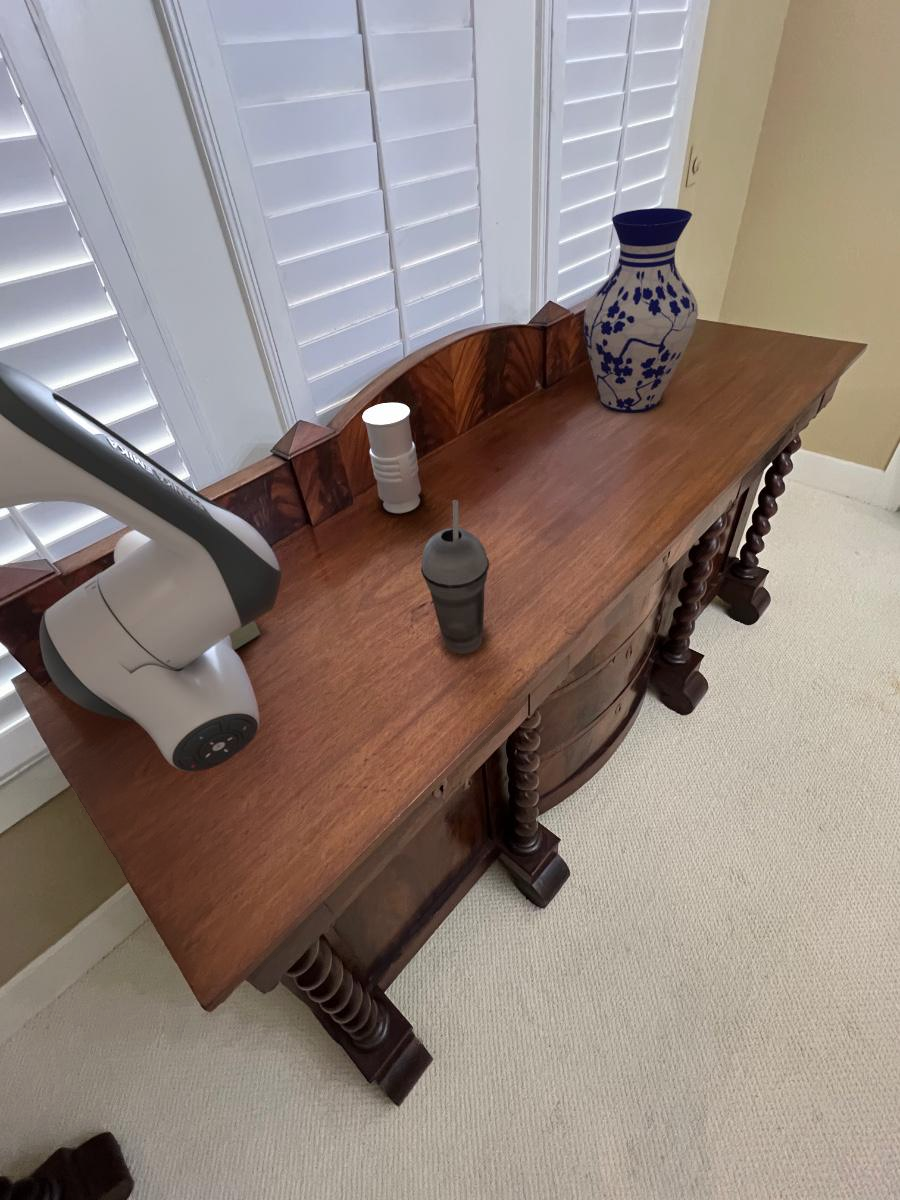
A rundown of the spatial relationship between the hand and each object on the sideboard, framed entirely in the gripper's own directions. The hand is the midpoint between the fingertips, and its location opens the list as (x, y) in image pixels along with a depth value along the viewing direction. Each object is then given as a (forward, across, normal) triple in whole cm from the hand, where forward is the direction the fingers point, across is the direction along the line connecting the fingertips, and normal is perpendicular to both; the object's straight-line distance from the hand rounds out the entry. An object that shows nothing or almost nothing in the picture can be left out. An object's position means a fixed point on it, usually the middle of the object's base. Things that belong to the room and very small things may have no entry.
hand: (152, 565), depth 67 cm
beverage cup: (-22, -28, +11) cm, 37 cm away
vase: (+12, -87, +11) cm, 89 cm away
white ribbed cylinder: (+9, -36, +11) cm, 39 cm away
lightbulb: (-1, 0, +6) cm, 6 cm away
